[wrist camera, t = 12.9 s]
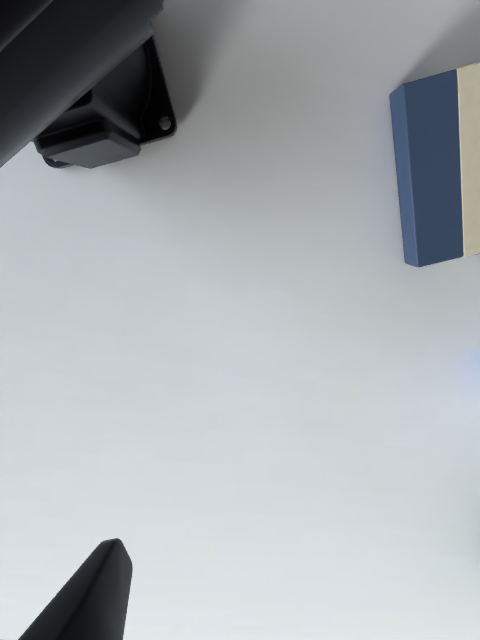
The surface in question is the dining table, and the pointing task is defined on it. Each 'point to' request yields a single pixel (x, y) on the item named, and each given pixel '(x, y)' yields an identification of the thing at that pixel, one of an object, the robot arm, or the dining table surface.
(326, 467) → the dining table surface
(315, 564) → the dining table surface
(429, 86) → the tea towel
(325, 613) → the dining table surface
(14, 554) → the dining table surface
